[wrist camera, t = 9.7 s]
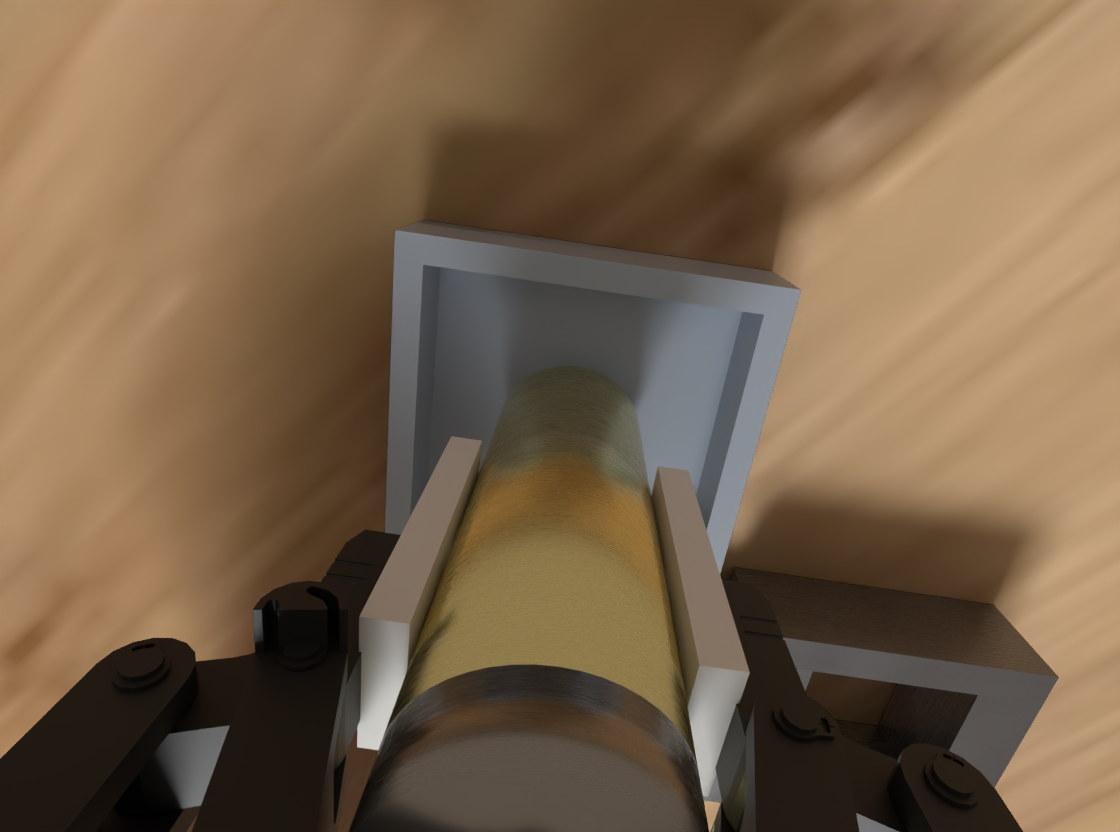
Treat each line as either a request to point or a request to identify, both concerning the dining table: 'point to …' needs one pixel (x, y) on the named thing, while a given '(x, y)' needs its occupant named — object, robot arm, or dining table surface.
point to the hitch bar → (914, 665)
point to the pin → (546, 642)
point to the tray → (581, 351)
